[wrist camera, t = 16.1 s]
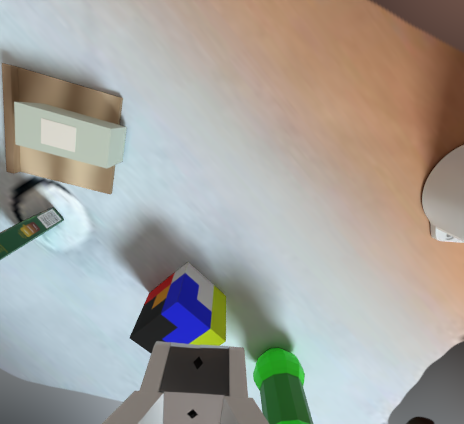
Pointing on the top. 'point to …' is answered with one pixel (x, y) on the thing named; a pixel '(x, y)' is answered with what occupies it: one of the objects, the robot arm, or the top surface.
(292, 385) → the plastic bottle
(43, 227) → the coffee box
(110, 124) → the pale green box
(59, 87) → the board
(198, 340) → the puzzle toy
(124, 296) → the top surface
